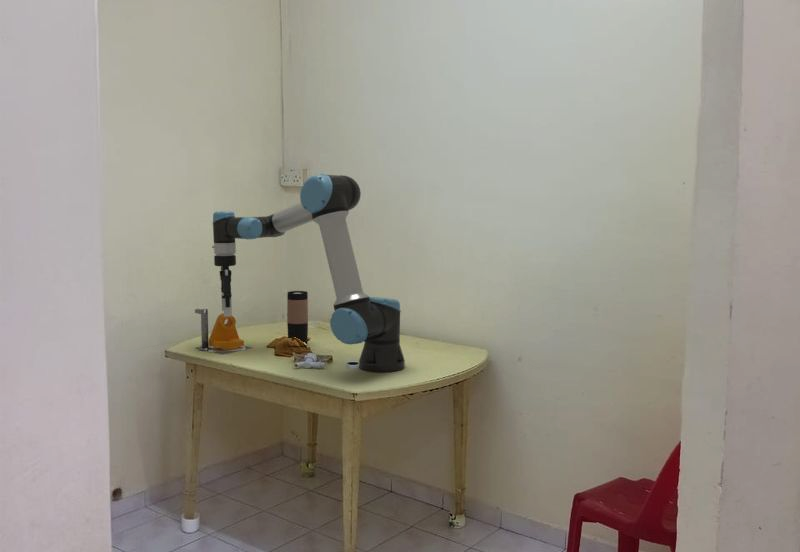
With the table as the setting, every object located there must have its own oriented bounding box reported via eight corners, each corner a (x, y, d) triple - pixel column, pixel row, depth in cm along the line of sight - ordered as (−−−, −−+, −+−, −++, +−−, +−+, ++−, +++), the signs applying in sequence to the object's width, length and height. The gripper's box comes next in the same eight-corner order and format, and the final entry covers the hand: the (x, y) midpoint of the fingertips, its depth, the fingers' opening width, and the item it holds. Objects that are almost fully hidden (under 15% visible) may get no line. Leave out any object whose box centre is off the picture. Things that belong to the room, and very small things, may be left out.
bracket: (216, 350, 253) (217, 316, 252) (208, 346, 259) (209, 313, 257) (244, 348, 259) (245, 315, 258) (236, 344, 265) (237, 312, 264)
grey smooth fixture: (214, 349, 257) (213, 309, 256) (204, 351, 254) (203, 310, 252) (202, 346, 261) (201, 307, 259) (192, 348, 258) (191, 308, 256)
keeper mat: (222, 356, 248) (222, 355, 248) (192, 349, 258) (192, 348, 258) (257, 349, 261) (257, 347, 261) (226, 342, 271) (226, 341, 271)
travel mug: (284, 343, 270) (284, 291, 268) (303, 341, 274) (303, 290, 272) (292, 347, 264) (291, 294, 261) (311, 345, 267) (311, 292, 265)
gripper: (212, 252, 266) (214, 308, 268) (215, 257, 242) (217, 319, 244) (233, 251, 268) (235, 307, 270) (238, 257, 244) (239, 318, 246)
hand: (226, 313), depth 257 cm, fingers open, 13 cm apart
